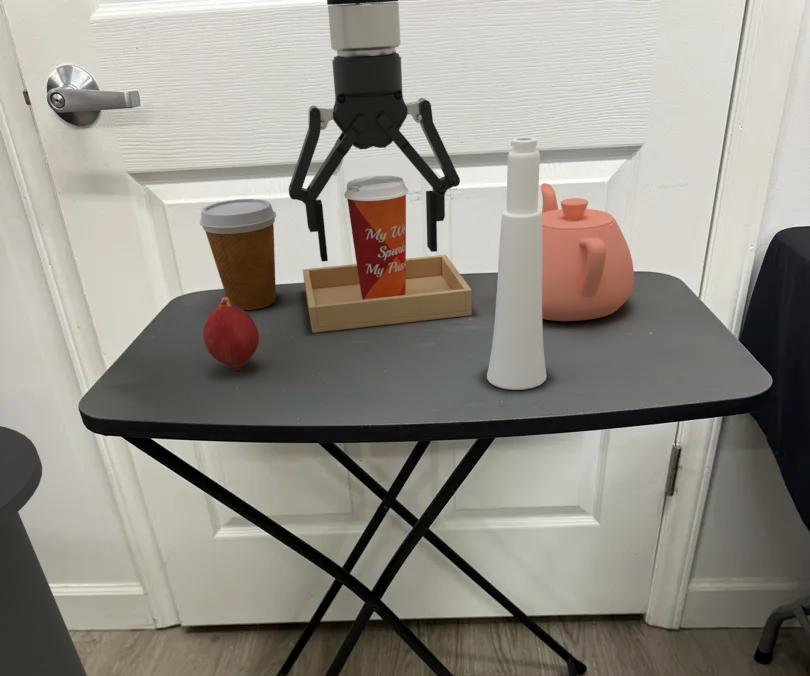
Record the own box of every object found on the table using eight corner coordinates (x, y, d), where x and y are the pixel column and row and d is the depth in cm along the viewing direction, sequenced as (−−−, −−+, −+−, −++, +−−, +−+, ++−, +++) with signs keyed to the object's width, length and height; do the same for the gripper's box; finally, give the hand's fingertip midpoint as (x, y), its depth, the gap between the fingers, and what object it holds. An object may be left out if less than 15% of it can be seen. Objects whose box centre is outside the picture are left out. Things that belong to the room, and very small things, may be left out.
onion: (201, 369, 85) (185, 297, 81) (246, 354, 88) (233, 284, 84) (227, 384, 82) (212, 310, 77) (273, 368, 84) (261, 295, 80)
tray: (312, 332, 93) (309, 307, 91) (305, 292, 105) (302, 269, 103) (472, 315, 94) (472, 289, 93) (446, 277, 107) (446, 254, 105)
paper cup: (378, 313, 95) (369, 191, 87) (342, 299, 100) (330, 182, 92) (426, 297, 99) (422, 179, 91) (389, 284, 104) (381, 171, 96)
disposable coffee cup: (264, 285, 108) (249, 194, 101) (302, 300, 102) (289, 204, 95) (203, 303, 104) (183, 208, 97) (239, 320, 98) (221, 220, 90)
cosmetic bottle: (557, 383, 77) (573, 139, 65) (503, 395, 76) (509, 148, 63) (528, 361, 82) (537, 130, 69) (476, 373, 80) (477, 138, 68)
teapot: (487, 283, 104) (487, 184, 97) (595, 272, 105) (604, 174, 98) (528, 343, 86) (532, 228, 79) (658, 329, 87) (674, 215, 80)
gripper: (470, 43, 88) (469, 237, 100) (250, 57, 85) (277, 254, 98) (486, 47, 82) (483, 252, 94) (250, 61, 79) (278, 271, 92)
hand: (378, 253), depth 96 cm, fingers open, 13 cm apart
